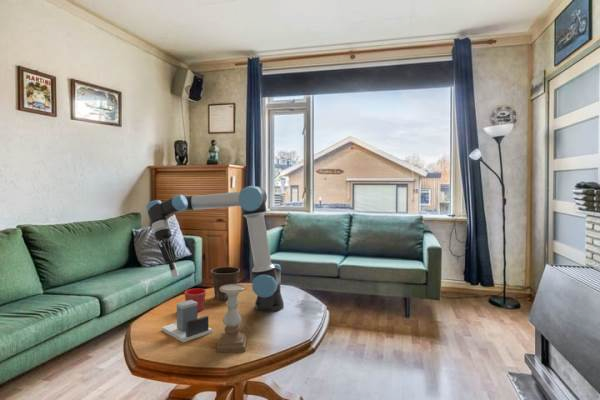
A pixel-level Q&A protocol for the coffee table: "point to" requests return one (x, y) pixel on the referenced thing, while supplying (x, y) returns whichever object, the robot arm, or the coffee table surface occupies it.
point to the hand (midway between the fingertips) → (175, 276)
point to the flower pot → (196, 297)
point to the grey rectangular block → (186, 313)
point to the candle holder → (232, 322)
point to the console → (189, 329)
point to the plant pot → (224, 280)
